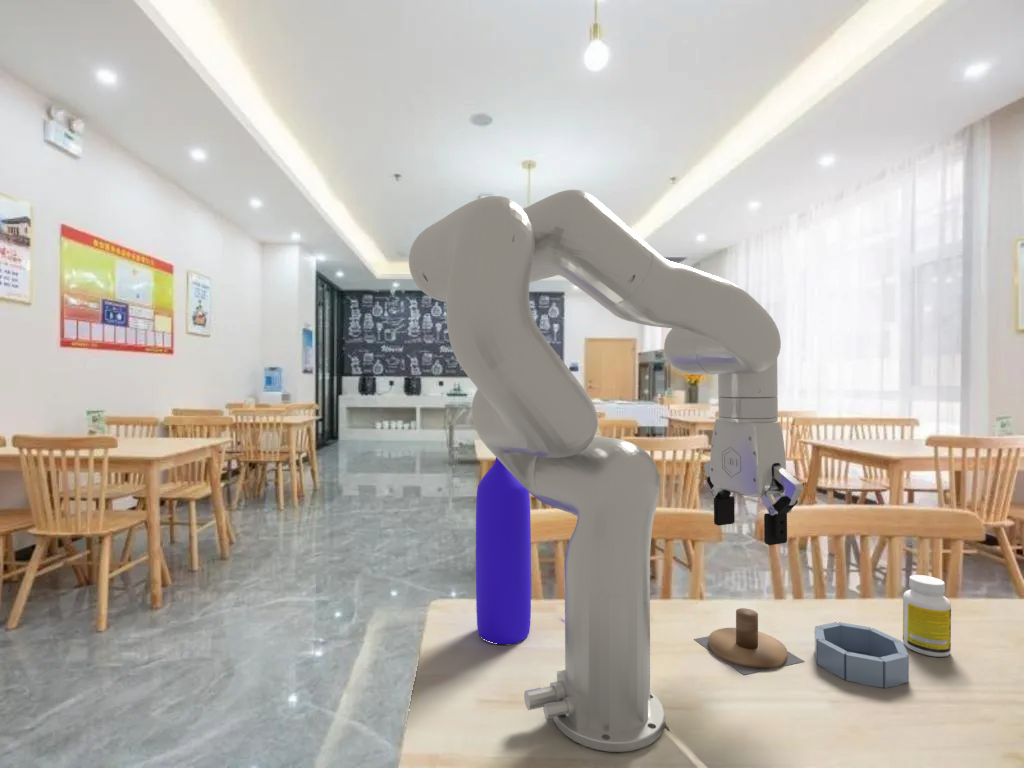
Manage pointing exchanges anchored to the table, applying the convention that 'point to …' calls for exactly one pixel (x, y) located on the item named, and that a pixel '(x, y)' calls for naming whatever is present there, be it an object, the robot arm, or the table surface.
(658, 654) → the table surface
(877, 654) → the bowl
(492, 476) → the bottle
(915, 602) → the supplement bottle
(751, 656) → the lid
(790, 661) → the mat
